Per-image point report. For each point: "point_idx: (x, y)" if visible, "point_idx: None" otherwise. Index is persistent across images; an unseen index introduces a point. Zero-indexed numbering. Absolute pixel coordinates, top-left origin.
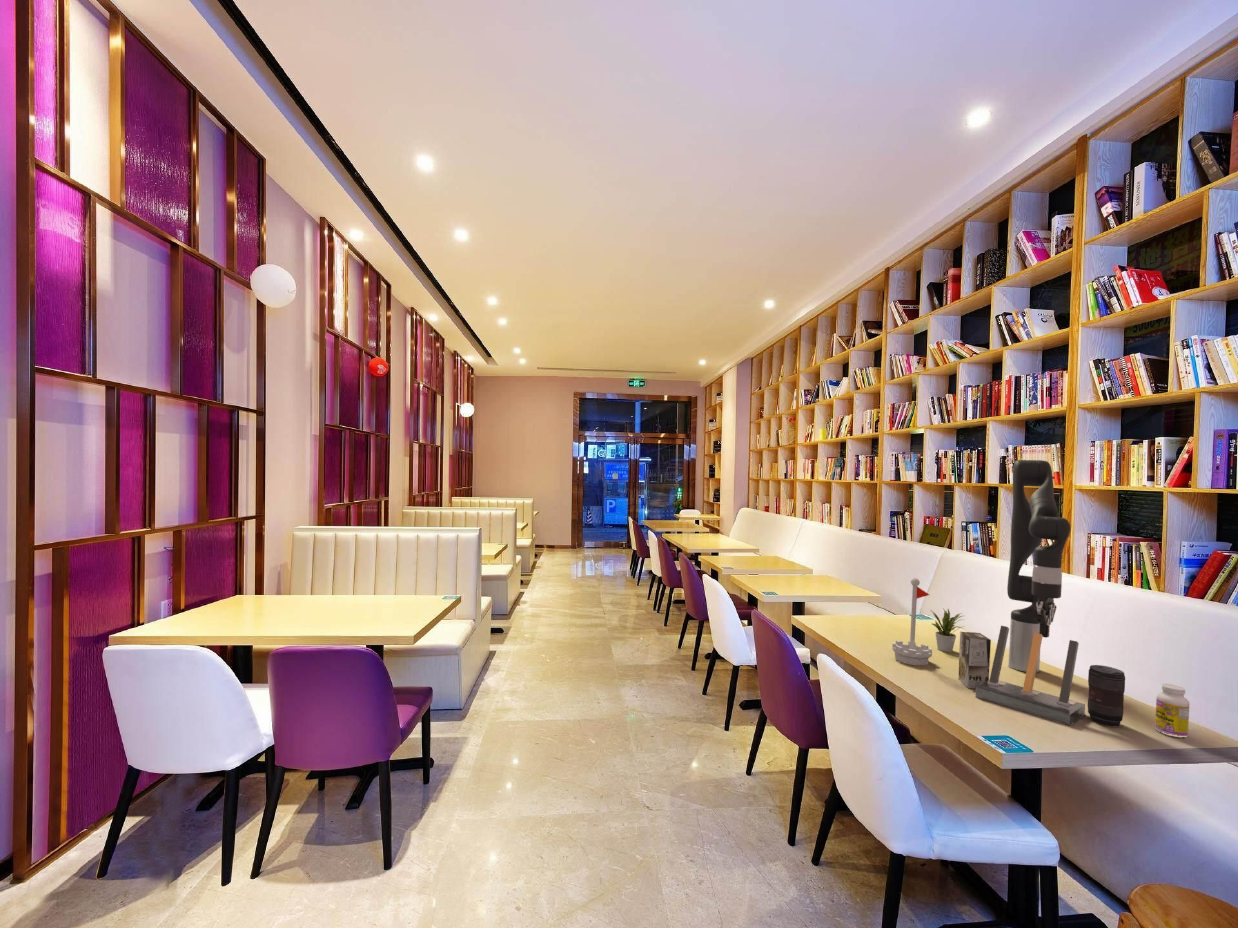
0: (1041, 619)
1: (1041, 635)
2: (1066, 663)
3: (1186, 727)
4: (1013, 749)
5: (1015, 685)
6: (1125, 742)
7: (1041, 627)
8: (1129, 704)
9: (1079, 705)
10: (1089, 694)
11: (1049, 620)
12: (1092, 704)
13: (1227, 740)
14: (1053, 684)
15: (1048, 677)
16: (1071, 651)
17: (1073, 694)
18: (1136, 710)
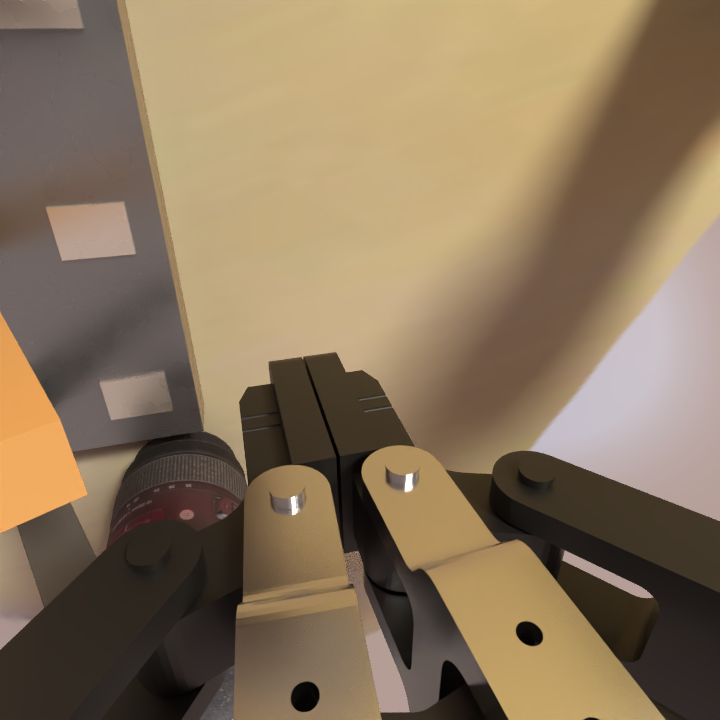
0: (161, 652)
1: (23, 511)
2: (33, 568)
3: None
4: None
5: (123, 89)
6: (19, 579)
7: (249, 472)
8: (524, 415)
9: (148, 429)
10: (127, 519)
11: (385, 628)
12: (116, 506)
13: None
14: (571, 145)
15: (690, 76)
16: None
17: (474, 265)
18: (466, 451)
